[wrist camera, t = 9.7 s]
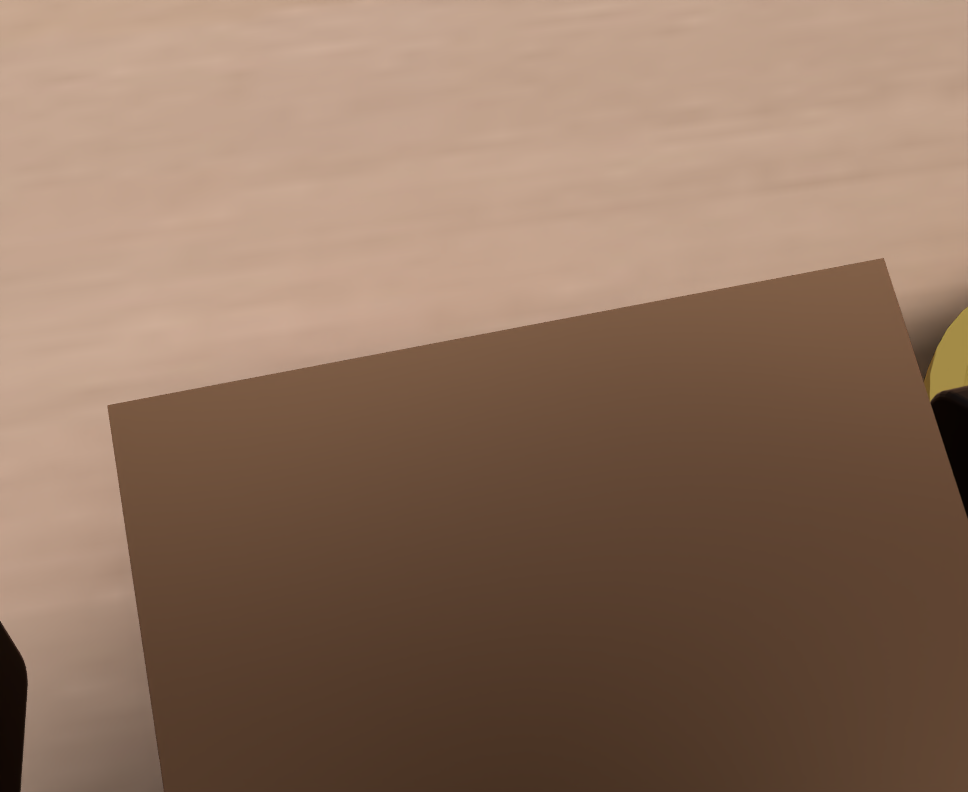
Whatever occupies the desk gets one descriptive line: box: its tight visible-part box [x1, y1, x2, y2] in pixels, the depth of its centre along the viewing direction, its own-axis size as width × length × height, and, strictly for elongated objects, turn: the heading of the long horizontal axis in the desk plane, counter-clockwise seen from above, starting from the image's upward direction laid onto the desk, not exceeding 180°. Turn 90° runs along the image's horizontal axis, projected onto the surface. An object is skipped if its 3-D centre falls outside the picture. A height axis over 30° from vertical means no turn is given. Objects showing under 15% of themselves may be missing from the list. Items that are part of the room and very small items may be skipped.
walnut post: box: [107, 258, 968, 792], centre depth 11 cm, size 5×5×12 cm
